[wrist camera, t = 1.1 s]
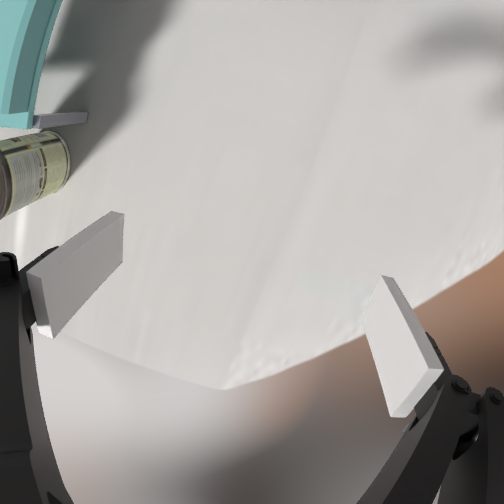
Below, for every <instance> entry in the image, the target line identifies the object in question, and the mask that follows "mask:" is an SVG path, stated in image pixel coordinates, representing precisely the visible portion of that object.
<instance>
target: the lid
mask: <svg viewBox="0 0 504 504" xmlns="http://www.w3.org/2000/svg"><path fill="white" fill-rule="evenodd" d="M62 1H63V0H0V127H8V128H19V129H31V128H32V124H33V116H34V110H35V103H36V97H37V92H38V86H39V81H40V76H41V72H42V67H43V63H44V59H45V55H46V51H47V47H48V44H49V40H50V37H51V33H52V30H53V27H54V24H55V20H56V17H57V14H58V12H59V9H60V6H61V3H62Z"/></svg>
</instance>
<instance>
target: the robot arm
mask: <svg viewBox="0 0 504 504" xmlns="http://www.w3.org/2000/svg"><path fill="white" fill-rule="evenodd" d="M123 227H124V214H122V213H118V212H113V211H111V212H109V213H108V214H106V215H105V216H103V217H102V218H100V219H99V220H97V221H96V222H94V223H93V224H91V225H90V226H88V227H87V228H85V229H84V230H82V231H81V232H79V233H78V234H77V235H75V236H74V237H72V238H71V239H69V240H68V241H67V242H65V243H64V244H62V245H61V246H60V247H59V246H56V247H54V248H51V249H48V250H47V251H45V252H44V253H42V254H41V255H40V256H38V257H37V258H36V259H34V261H32V262H30V263H29V264H28V265H26V266H25V267H24V268H22V269H21V270H20V271H18V265H17V259H16V256H15V255H14V254H13V253H9V252H2V253H0V504H74V503H73V501H72V499H71V497H70V496H69V494H68V492H67V490H66V488H65V486H64V484H63V481H62V478H61V475H60V472H59V469H58V466H57V463H56V459H55V456H54V453H53V450H52V446H51V442H50V438H49V434H48V430H47V426H46V422H45V417H44V412H43V408H42V402H41V397H40V392H39V385H38V379H37V372H36V366H35V365H36V364H35V356H34V346H33V334H32V330H31V326H32V325H33V324H34V323H35V321H36V323H37V327H38V331H39V333H41V334H43V335H45V336H48V337H50V338H52V339H54V338H55V337H56V335H57V334H58V333H59V332H60V331H61V329H62V328H63V327H64V326H65V325H66V324H67V322H68V321H69V320H70V319H71V318H72V317H73V315H74V314H75V313H76V312H77V311H78V310H79V309H80V308H81V306H82V305H83V304H84V303H85V302H86V301H87V300H88V299H89V297H90V296H91V295H92V294H93V293H94V292H95V291H96V290H97V289H98V288H99V286H100V285H101V284H102V283H103V282H104V281H105V280H106V279H107V278H108V277H109V276H110V275H111V274H112V273H113V272H114V270H115V269H116V268H117V267H118V266H119V265H120V264H121V263H122V253H123ZM361 321H362V324H363V327H364V330H365V333H366V336H367V339H368V342H369V345H370V348H371V351H372V355H373V358H374V361H375V364H376V368H377V371H378V374H379V378H380V381H381V384H382V388H383V392H384V395H385V399H386V403H387V406H388V410H389V414H390V417H406V416H407V415H408V414H409V413H410V412H411V411H412V409H413V408H414V409H415V412H416V416H415V417H414V418H413V419H412V421H411V422H410V423H409V424H408V425H407V426H406V427H405V428H404V429H403V430H402V432H404V431H405V433H404V435H403V436H402V438H401V440H400V441H399V443H398V445H397V446H396V448H395V450H394V451H393V453H392V454H391V456H390V457H389V459H388V460H387V462H386V463H385V465H384V466H383V468H382V470H381V471H380V473H379V474H378V475H377V477H376V478H375V480H374V481H373V482H372V484H371V485H370V486H369V488H368V489H367V491H366V492H365V493H364V494H363V496H362V497H361V498H360V500H359V501H358V502H357V504H432V503H433V501H434V499H435V497H436V494H437V492H438V490H439V488H440V486H441V489H440V494H439V499H438V504H504V396H503V394H502V393H501V392H500V391H499V390H497V389H495V388H492V387H488V388H487V389H486V390H485V391H484V392H483V393H482V395H479V394H476V393H473V392H471V388H470V386H469V384H468V383H467V382H466V381H465V380H464V379H463V378H461V377H459V376H457V375H452V373H451V371H450V369H449V367H448V365H447V363H446V361H445V359H444V357H443V356H441V352H440V350H439V349H438V346H437V345H436V343H435V341H434V339H433V338H432V337H431V336H430V335H429V334H428V333H427V332H424V330H423V328H422V326H421V325H420V323H419V321H418V319H417V317H416V315H415V314H414V312H413V310H412V308H411V307H410V305H409V303H408V302H407V300H406V298H405V296H404V295H403V293H402V291H401V290H400V288H399V286H398V285H397V283H396V282H395V280H394V278H391V277H387V276H383V275H381V276H380V278H379V280H378V283H377V285H376V287H375V289H374V291H373V294H372V296H371V298H370V300H369V302H368V304H367V306H366V309H365V311H364V313H363V315H362V317H361ZM477 437H478V438H477ZM475 438H477V440H476V442H475Z"/></svg>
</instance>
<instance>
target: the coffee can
mask: <svg viewBox="0 0 504 504" xmlns="http://www.w3.org/2000/svg"><path fill="white" fill-rule="evenodd" d="M69 172H70V154H69V150H68V147H67V145H66V143H65V141H64V140H63V138H62V137H61V136H60V135H59V134H57V133H55V132H52V131H44V132H41V133H35V134H29V135H25V136H20V137H15V138H10V139H6V140H1V141H0V220H1V219H2V218H3V217H5V216H7V215H9V214H11V213H13V212H15V211H17V210H19V209H21V208H23V207H25V206H27V205H29V204H31V203H33V202H35V201H37V200H39V199H41V198H43V197H45V196H47V195H50V194H52V193H55V192H57V191H59V190H60V189H61V188H62V187H63V186H64V185H65V183H66V181H67V179H68V176H69Z"/></svg>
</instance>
